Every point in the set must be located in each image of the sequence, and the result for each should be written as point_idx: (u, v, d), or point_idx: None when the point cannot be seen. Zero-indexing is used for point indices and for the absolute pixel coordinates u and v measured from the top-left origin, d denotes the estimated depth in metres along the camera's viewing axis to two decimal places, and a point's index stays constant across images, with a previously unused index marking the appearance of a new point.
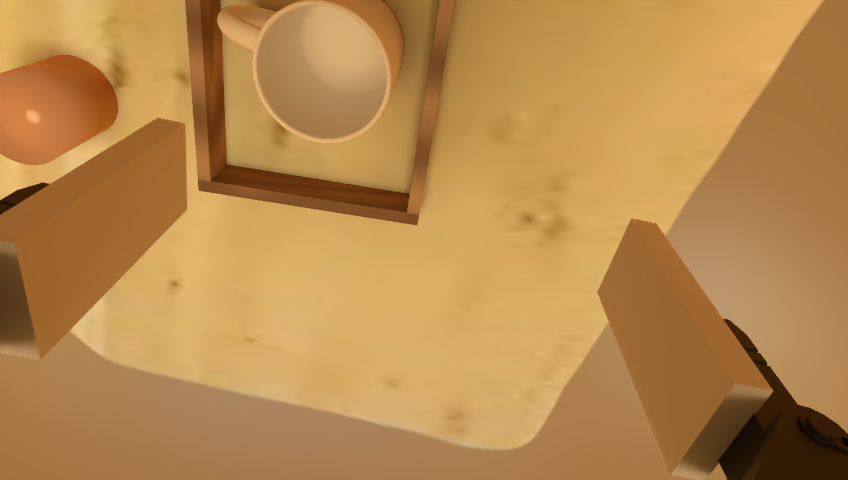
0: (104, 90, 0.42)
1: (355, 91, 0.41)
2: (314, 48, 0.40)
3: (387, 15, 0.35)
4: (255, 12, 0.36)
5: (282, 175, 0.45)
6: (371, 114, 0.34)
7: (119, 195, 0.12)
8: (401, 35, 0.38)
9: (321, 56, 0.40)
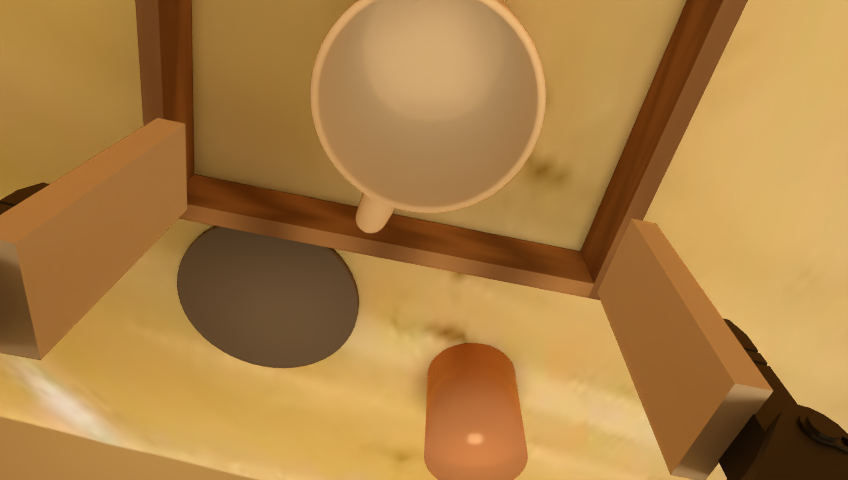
0: (464, 354, 0.36)
1: (500, 53, 0.27)
2: (434, 106, 0.29)
3: None
4: None
5: (611, 183, 0.30)
6: None
7: (119, 195, 0.12)
8: None
9: (446, 97, 0.28)
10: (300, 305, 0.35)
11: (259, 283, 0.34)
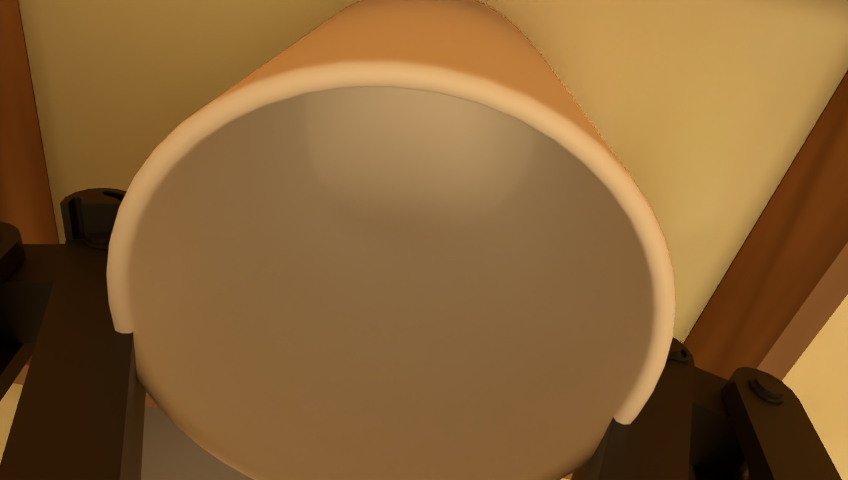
0: None
1: (531, 133, 0.16)
2: (423, 210, 0.18)
3: None
4: None
5: (703, 322, 0.20)
6: None
7: None
8: None
9: (441, 198, 0.18)
10: None
11: (178, 440, 0.24)
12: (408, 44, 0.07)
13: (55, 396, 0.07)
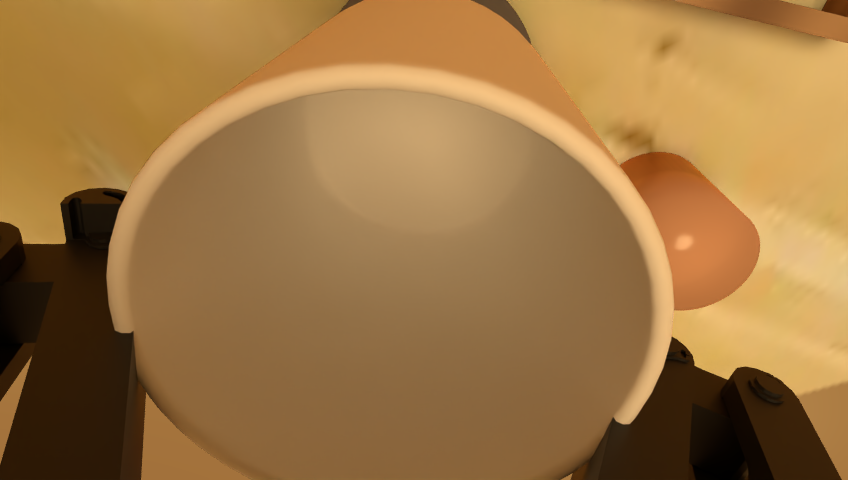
0: (655, 159, 0.30)
1: (531, 134, 0.16)
2: (423, 211, 0.18)
3: (310, 33, 0.12)
4: None
5: None
6: None
7: None
8: None
9: (441, 199, 0.18)
10: None
11: None
12: (407, 46, 0.07)
13: (55, 396, 0.07)
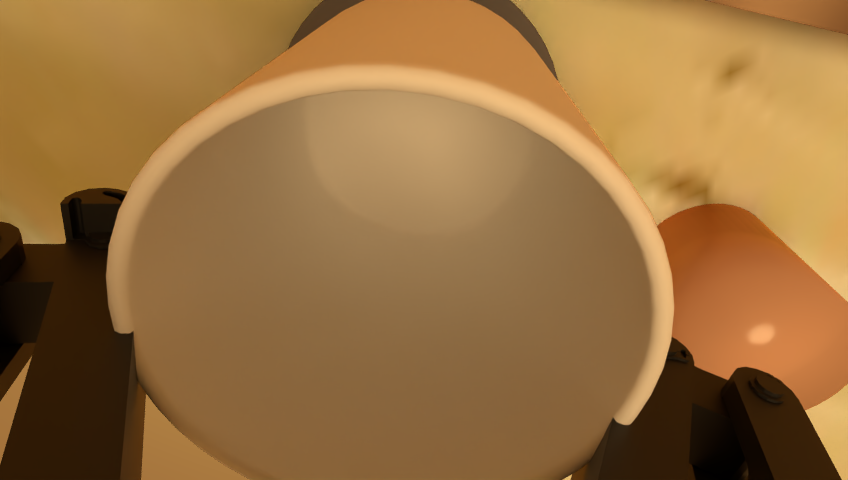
0: (714, 215, 0.23)
1: (531, 134, 0.16)
2: (423, 211, 0.18)
3: None
4: None
5: None
6: None
7: None
8: None
9: (441, 199, 0.18)
10: None
11: None
12: (407, 47, 0.07)
13: (55, 396, 0.07)
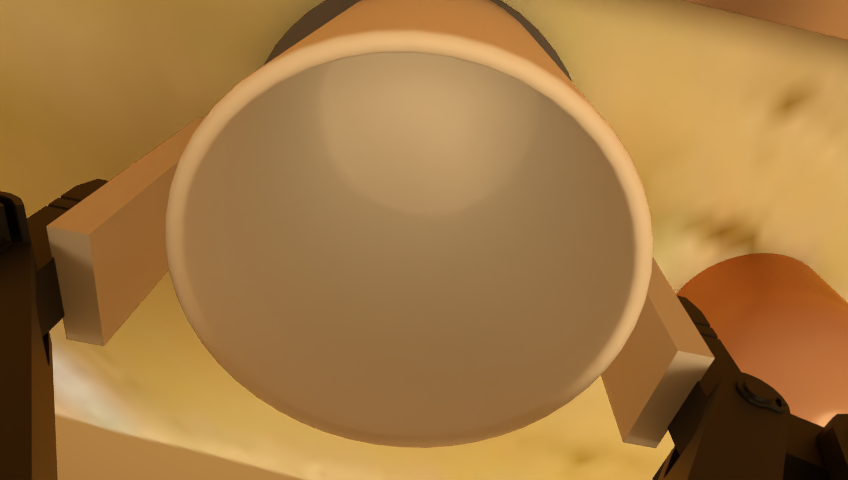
0: (764, 269, 0.20)
1: (530, 119, 0.18)
2: (428, 192, 0.19)
3: None
4: None
5: None
6: None
7: None
8: None
9: (446, 180, 0.19)
10: None
11: None
12: (426, 20, 0.08)
13: None
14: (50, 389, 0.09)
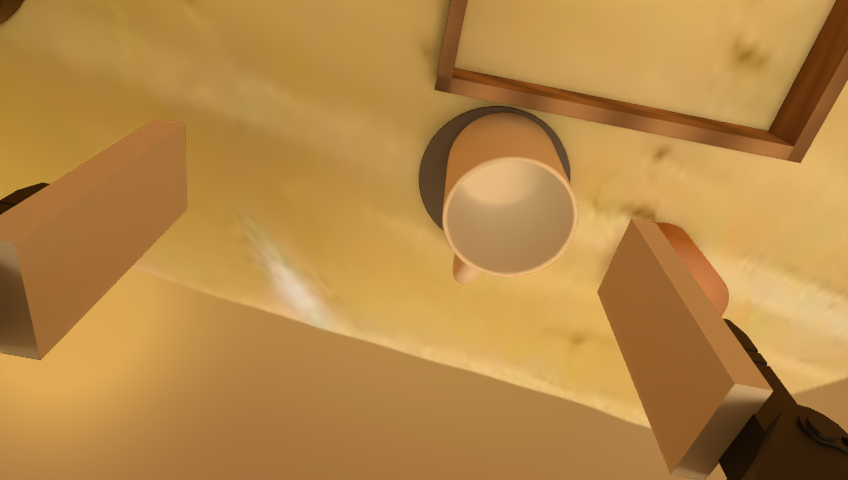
0: None
1: None
2: (500, 195, 0.42)
3: (471, 133, 0.37)
4: None
5: (806, 64, 0.37)
6: None
7: (119, 195, 0.12)
8: (494, 115, 0.38)
9: (508, 190, 0.42)
10: None
11: None
12: (517, 150, 0.31)
13: None
14: None
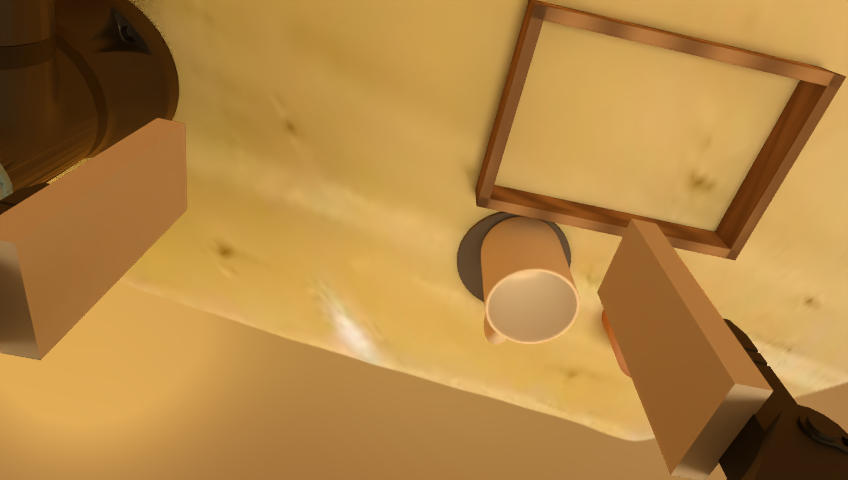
0: None
1: None
2: None
3: (502, 236, 0.51)
4: None
5: (740, 190, 0.51)
6: None
7: (119, 195, 0.12)
8: (517, 221, 0.52)
9: None
10: None
11: None
12: (539, 262, 0.45)
13: None
14: None
